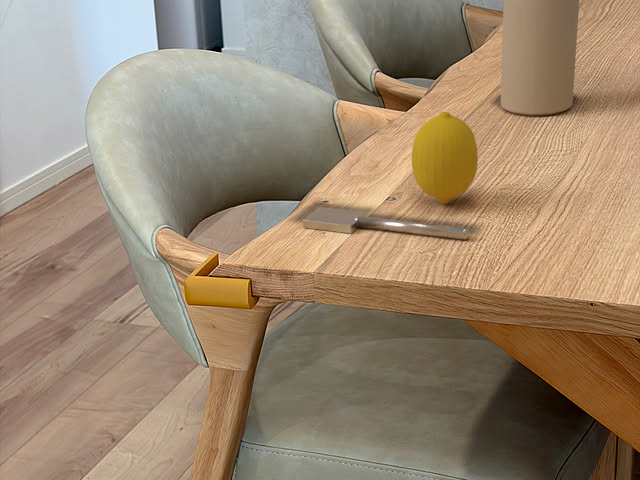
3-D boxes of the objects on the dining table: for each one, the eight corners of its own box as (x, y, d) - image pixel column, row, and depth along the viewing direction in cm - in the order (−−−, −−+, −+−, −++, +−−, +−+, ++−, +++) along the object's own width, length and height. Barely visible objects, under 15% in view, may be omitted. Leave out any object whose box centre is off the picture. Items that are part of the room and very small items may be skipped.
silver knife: (475, 232, 72) (475, 221, 72) (463, 247, 70) (463, 236, 69) (319, 214, 78) (319, 204, 78) (303, 227, 75) (302, 217, 75)
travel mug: (525, 120, 99) (533, -57, 90) (487, 105, 106) (491, -62, 97) (586, 109, 101) (599, -65, 93) (545, 94, 108) (554, -69, 100)
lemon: (425, 190, 82) (424, 101, 78) (485, 195, 79) (487, 105, 76) (402, 211, 77) (400, 118, 74) (465, 218, 75) (466, 123, 71)
